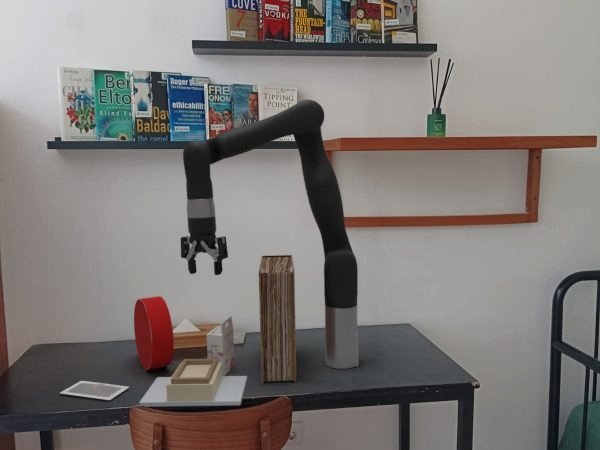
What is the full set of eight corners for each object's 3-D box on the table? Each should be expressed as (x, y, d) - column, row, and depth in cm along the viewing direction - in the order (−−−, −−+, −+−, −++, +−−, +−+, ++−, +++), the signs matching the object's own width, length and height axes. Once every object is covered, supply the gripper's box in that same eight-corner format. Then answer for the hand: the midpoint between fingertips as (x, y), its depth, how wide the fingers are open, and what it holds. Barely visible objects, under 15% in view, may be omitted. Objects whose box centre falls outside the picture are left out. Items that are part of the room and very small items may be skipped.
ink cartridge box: (218, 364, 143) (216, 314, 142) (234, 365, 142) (233, 315, 141) (207, 376, 135) (205, 323, 133) (224, 377, 134) (222, 324, 132)
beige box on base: (247, 379, 132) (246, 356, 131) (240, 405, 117) (239, 380, 116) (157, 380, 132) (156, 358, 131) (139, 406, 117) (138, 381, 116)
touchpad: (110, 404, 120) (109, 395, 119) (59, 397, 124) (58, 389, 124) (129, 390, 127) (129, 382, 127) (81, 384, 131) (81, 376, 131)
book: (296, 383, 129) (294, 270, 126) (261, 384, 128) (258, 271, 126) (293, 349, 154) (291, 254, 151) (264, 350, 154) (261, 255, 151)
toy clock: (175, 375, 135) (172, 304, 133) (153, 380, 132) (150, 307, 130) (155, 353, 152) (152, 290, 150) (135, 357, 149) (132, 292, 147)
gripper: (230, 214, 135) (234, 272, 136) (189, 214, 141) (193, 270, 143) (214, 216, 128) (218, 278, 130) (171, 217, 135) (176, 275, 136)
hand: (205, 274), depth 136 cm, fingers open, 8 cm apart
